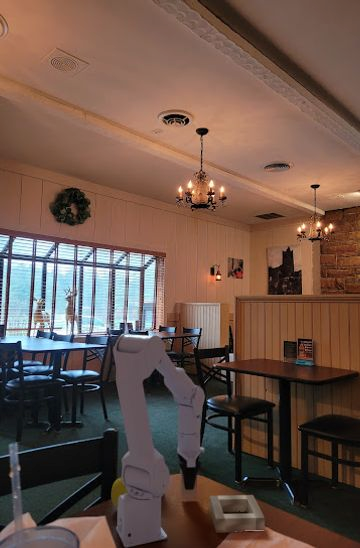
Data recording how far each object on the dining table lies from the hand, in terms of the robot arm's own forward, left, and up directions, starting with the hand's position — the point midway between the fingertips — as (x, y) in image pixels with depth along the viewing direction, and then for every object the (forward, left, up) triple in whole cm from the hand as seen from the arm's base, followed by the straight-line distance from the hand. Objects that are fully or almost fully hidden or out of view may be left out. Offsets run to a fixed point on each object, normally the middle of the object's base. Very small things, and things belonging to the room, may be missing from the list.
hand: (188, 485), depth 106 cm
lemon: (-17, +2, -4) cm, 18 cm away
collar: (+7, -12, -4) cm, 14 cm away
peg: (0, 0, -2) cm, 2 cm away
